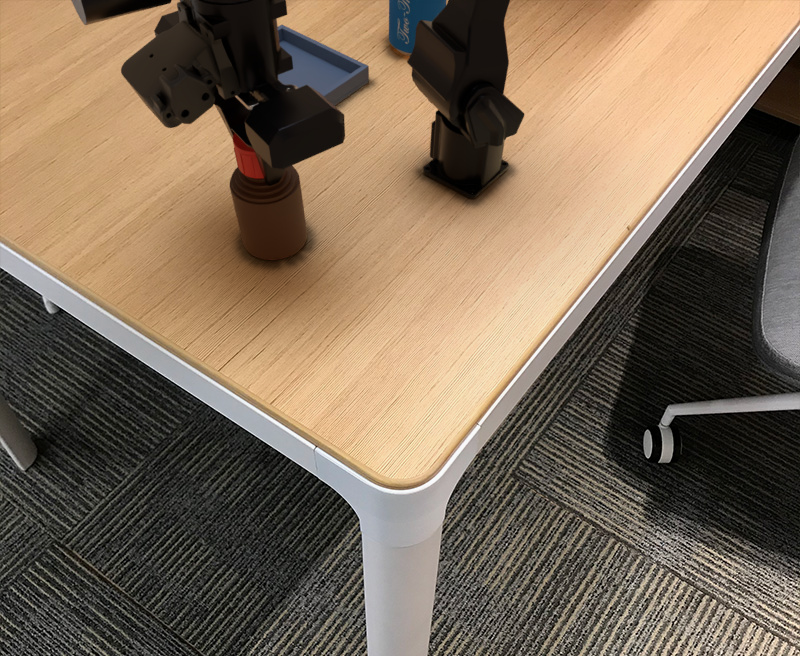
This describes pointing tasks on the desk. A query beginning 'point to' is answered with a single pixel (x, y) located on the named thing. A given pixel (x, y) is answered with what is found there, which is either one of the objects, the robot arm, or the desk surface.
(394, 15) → the beverage can
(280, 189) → the bottle
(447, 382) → the desk surface
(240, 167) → the cap
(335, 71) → the tray
